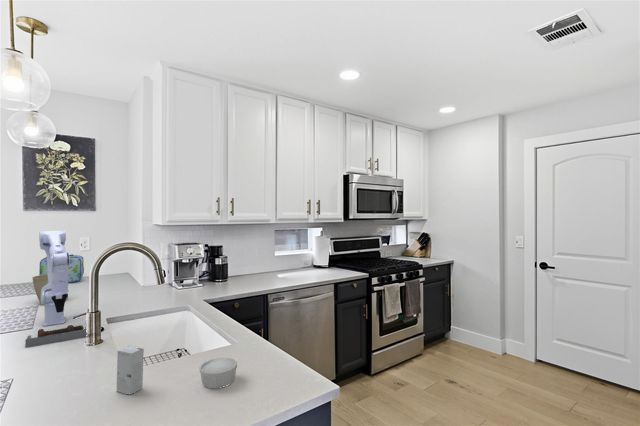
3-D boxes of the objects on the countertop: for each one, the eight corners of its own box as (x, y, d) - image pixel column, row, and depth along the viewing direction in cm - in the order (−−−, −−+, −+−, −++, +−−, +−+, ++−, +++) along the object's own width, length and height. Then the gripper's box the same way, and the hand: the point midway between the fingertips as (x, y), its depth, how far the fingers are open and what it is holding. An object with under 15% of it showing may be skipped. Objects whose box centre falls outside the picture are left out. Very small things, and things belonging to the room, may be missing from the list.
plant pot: (64, 304, 193) (64, 276, 193) (30, 308, 184) (30, 279, 184) (66, 298, 205) (66, 272, 205) (34, 302, 197) (34, 275, 197)
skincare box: (115, 391, 99) (115, 350, 99) (129, 384, 103) (129, 344, 103) (130, 395, 96) (130, 353, 96) (144, 388, 101) (144, 347, 101)
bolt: (83, 337, 147) (38, 346, 136) (80, 329, 150) (36, 337, 139) (85, 327, 145) (39, 335, 134) (82, 319, 148) (38, 326, 137)
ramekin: (207, 373, 110) (207, 356, 110) (241, 373, 110) (241, 357, 110) (193, 391, 99) (193, 373, 99) (231, 391, 99) (231, 373, 99)
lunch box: (85, 279, 263) (85, 252, 263) (82, 282, 253) (81, 254, 253) (43, 282, 252) (43, 254, 252) (38, 285, 242) (38, 256, 242)
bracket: (28, 341, 137) (28, 334, 137) (87, 331, 148) (87, 324, 148) (25, 347, 131) (25, 339, 131) (88, 336, 143) (88, 329, 143)
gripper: (49, 279, 151) (49, 309, 151) (46, 284, 139) (46, 317, 139) (69, 277, 155) (69, 306, 155) (67, 282, 143) (67, 314, 143)
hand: (59, 311), depth 148 cm, fingers closed
